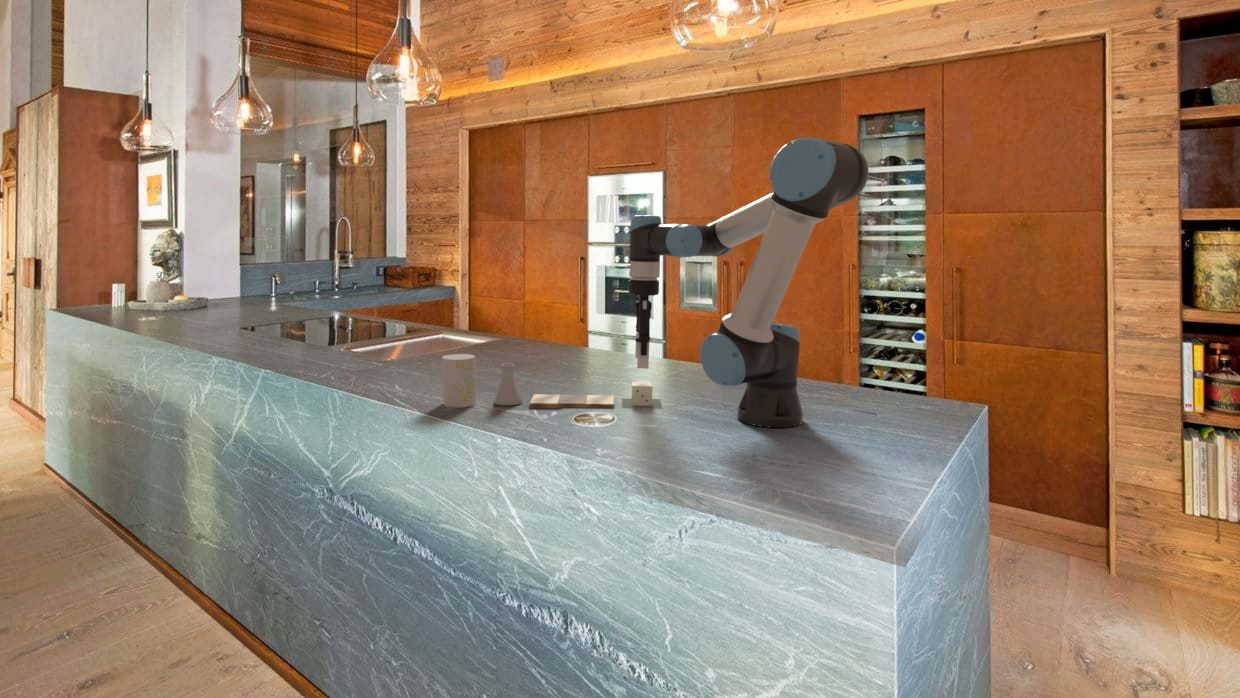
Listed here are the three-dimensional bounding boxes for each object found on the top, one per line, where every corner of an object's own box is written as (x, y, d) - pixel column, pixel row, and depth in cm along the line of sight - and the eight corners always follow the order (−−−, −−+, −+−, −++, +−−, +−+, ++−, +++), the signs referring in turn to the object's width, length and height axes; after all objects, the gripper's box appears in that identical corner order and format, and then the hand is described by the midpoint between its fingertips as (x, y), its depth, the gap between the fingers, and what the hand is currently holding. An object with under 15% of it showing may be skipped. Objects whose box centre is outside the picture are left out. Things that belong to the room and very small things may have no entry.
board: (613, 399, 182) (614, 395, 182) (614, 408, 172) (614, 404, 172) (533, 398, 182) (533, 394, 182) (529, 407, 172) (529, 403, 172)
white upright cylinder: (457, 409, 170) (456, 360, 168) (436, 404, 175) (435, 357, 173) (483, 403, 176) (482, 356, 174) (461, 398, 181) (460, 352, 179)
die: (650, 401, 180) (651, 381, 179) (652, 405, 175) (652, 386, 174) (631, 400, 180) (631, 381, 179) (631, 405, 175) (632, 385, 174)
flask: (519, 406, 173) (519, 367, 172) (490, 406, 173) (490, 367, 172) (524, 400, 180) (524, 362, 179) (496, 399, 181) (496, 361, 179)
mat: (659, 400, 182) (659, 398, 182) (662, 409, 173) (662, 408, 173) (621, 399, 182) (621, 398, 182) (622, 409, 172) (622, 407, 172)
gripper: (627, 274, 184) (625, 353, 188) (630, 282, 160) (627, 372, 164) (656, 275, 185) (653, 354, 188) (662, 283, 160) (659, 373, 164)
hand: (641, 363), depth 176 cm, fingers open, 13 cm apart
